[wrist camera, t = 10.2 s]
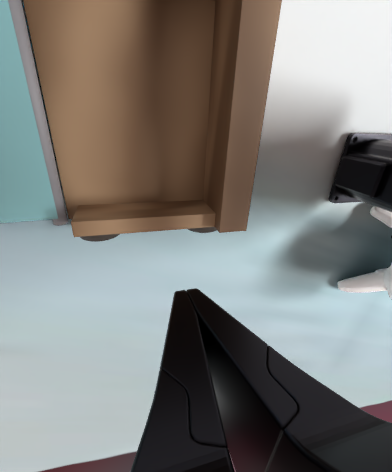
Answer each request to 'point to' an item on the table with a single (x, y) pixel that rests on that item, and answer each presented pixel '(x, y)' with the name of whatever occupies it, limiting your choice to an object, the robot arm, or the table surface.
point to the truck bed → (154, 109)
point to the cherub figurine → (377, 280)
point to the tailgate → (24, 130)
